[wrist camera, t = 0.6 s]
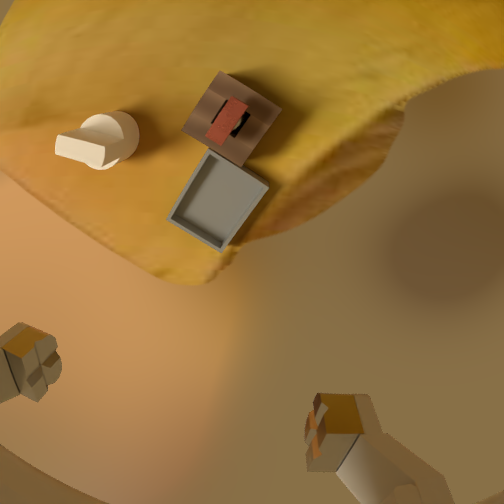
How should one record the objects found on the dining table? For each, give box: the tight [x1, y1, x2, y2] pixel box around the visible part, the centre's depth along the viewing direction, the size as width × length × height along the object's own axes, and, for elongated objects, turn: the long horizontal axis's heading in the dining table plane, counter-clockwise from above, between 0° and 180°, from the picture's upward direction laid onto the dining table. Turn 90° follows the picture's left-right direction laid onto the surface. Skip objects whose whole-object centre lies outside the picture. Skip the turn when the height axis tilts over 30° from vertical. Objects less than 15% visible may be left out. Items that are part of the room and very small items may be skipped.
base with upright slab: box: [55, 111, 140, 170], centre depth 39 cm, size 9×9×12 cm
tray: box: [166, 148, 269, 253], centre depth 48 cm, size 14×11×3 cm
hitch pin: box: [205, 96, 249, 146], centre depth 38 cm, size 6×3×10 cm, turn 146°
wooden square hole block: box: [182, 71, 282, 167], centre depth 40 cm, size 10×10×6 cm
